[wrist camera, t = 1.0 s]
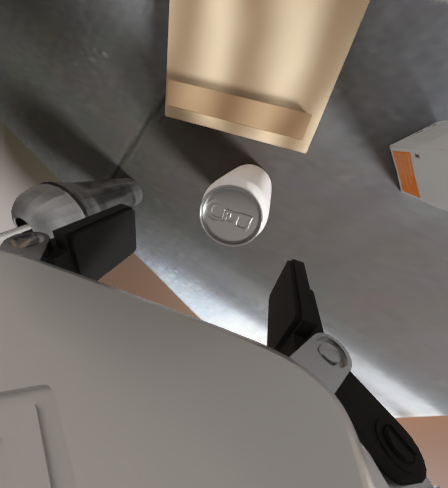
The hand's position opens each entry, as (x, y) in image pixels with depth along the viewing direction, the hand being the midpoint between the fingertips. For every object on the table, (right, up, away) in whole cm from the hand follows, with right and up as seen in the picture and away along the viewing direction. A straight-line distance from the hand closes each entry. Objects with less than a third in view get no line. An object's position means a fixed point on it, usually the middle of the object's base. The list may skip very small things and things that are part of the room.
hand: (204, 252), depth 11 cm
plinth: (+5, +20, +9) cm, 22 cm away
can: (+5, +8, +15) cm, 18 cm away
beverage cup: (-15, +9, +20) cm, 27 cm away
